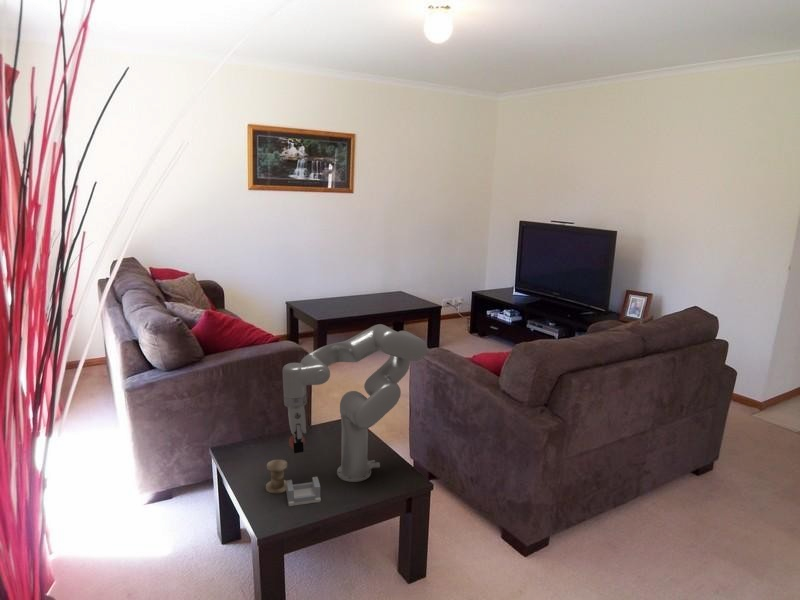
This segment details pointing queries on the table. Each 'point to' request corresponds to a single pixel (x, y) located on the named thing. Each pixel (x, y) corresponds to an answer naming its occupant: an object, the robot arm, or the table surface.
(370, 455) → the table surface
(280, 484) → the bobbin
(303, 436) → the bead
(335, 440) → the table surface
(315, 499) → the grey u-shaped holder
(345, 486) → the table surface
